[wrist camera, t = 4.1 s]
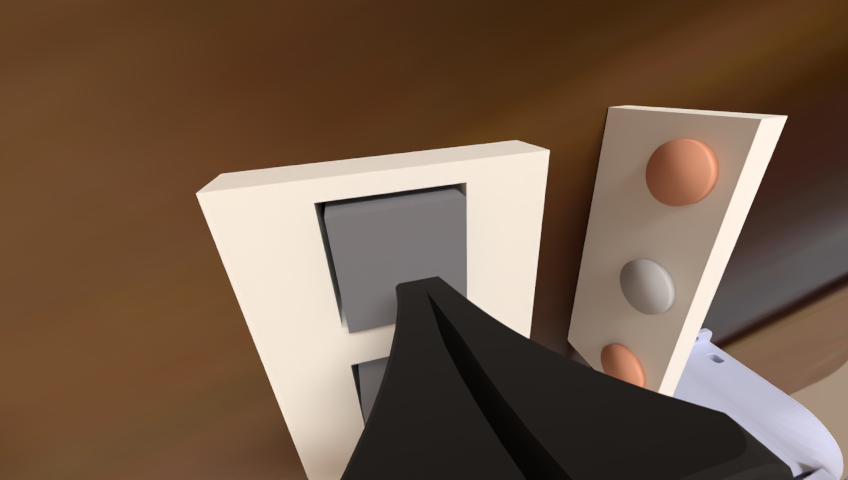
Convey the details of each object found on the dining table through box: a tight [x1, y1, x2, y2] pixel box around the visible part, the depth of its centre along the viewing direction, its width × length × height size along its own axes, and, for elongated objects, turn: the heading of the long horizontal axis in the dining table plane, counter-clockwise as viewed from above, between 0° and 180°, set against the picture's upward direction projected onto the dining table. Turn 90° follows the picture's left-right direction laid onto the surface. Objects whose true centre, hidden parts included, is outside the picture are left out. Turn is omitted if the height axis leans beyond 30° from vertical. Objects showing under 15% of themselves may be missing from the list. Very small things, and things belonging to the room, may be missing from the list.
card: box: [568, 105, 787, 397], centre depth 15 cm, size 1×14×6 cm, turn 3°
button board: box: [196, 140, 550, 480], centre depth 17 cm, size 12×22×2 cm, turn 4°
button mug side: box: [324, 184, 467, 334], centre depth 13 cm, size 5×5×3 cm
